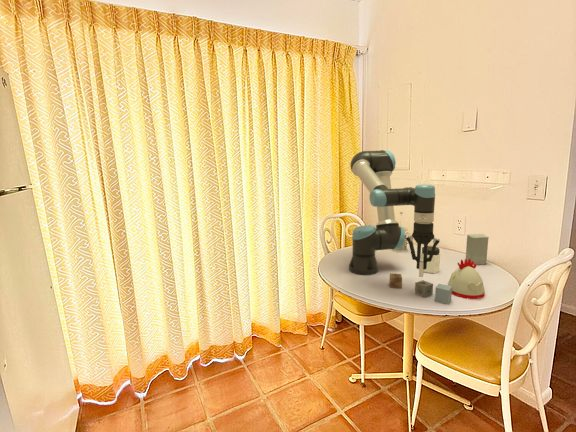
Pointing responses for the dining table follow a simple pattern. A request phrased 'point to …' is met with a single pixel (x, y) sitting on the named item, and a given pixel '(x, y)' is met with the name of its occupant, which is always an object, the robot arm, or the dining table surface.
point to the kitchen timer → (467, 281)
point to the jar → (435, 262)
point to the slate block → (443, 293)
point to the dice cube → (423, 288)
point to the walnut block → (395, 280)
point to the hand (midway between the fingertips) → (421, 275)
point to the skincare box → (477, 248)
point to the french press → (403, 248)
